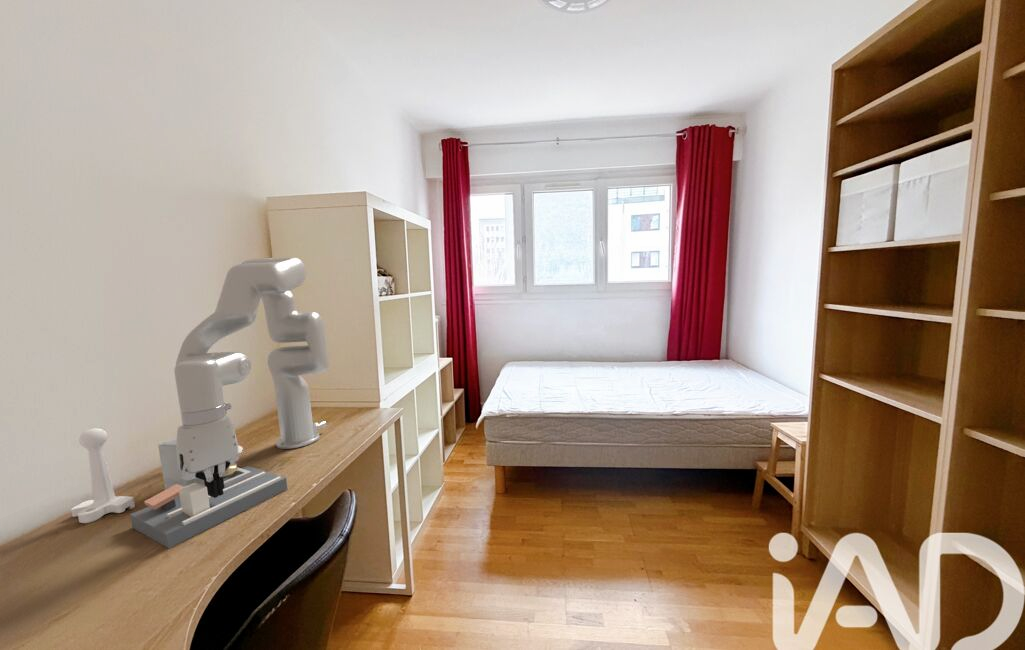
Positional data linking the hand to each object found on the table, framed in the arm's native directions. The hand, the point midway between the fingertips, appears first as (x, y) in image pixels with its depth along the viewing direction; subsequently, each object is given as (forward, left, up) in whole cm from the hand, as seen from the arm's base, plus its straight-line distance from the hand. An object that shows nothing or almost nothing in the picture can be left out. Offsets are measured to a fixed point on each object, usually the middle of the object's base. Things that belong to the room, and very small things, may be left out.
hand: (215, 494), depth 88 cm
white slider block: (+4, 0, -1) cm, 4 cm away
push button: (-6, -9, 0) cm, 11 cm away
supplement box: (-4, -24, -5) cm, 24 cm away
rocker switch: (+6, -9, 0) cm, 10 cm away
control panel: (-1, -5, -5) cm, 7 cm away
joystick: (+12, -28, -5) cm, 30 cm away
